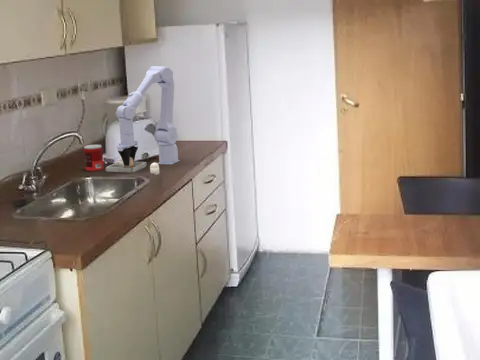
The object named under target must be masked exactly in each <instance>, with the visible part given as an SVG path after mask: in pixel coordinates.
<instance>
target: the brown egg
mask: <svg viewBox="0 0 480 360" xmlns="http://www.w3.org/2000/svg"><path fill="white" fill-rule="evenodd" d="M133 167H134V163H133V158H132V157H130V162H129V166H125V168H133Z"/></svg>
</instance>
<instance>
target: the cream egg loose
mask: <svg viewBox="0 0 480 360" xmlns="http://www.w3.org/2000/svg"><path fill="white" fill-rule="evenodd" d="M157 163H158V162H152V163H151V164H150V165H149V172H150V174H152V175H153V176H156V175H160V164H157Z"/></svg>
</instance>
